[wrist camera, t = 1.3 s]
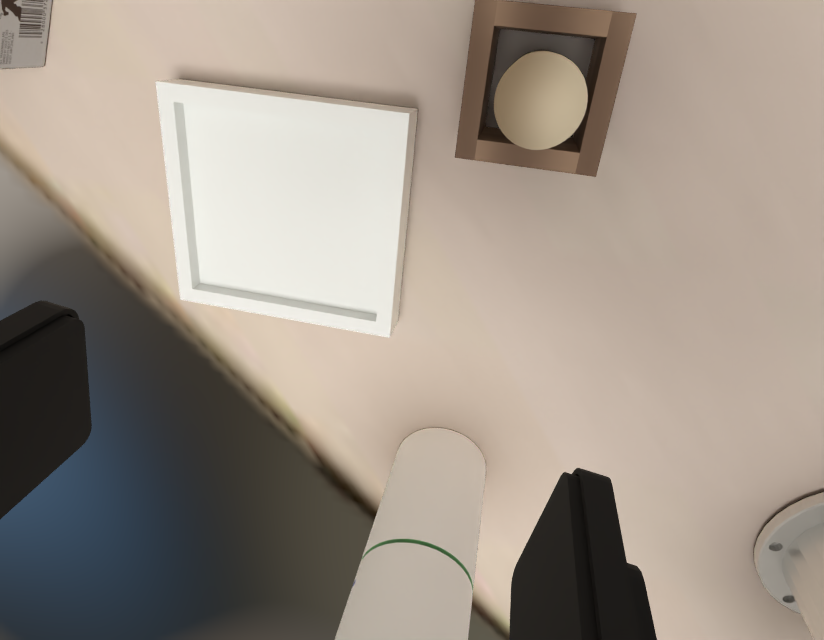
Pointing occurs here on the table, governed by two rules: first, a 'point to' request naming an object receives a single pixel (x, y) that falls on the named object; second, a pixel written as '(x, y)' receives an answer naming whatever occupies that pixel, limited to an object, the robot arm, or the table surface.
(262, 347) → the table surface
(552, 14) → the square wooden box
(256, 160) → the tray
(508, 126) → the dowel
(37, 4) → the coffee box
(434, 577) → the cylindrical container
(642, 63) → the table surface
